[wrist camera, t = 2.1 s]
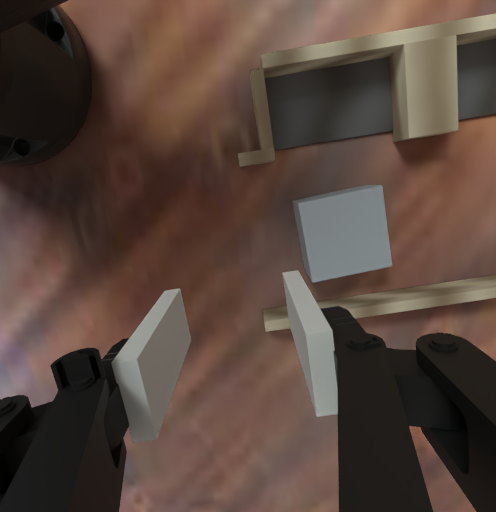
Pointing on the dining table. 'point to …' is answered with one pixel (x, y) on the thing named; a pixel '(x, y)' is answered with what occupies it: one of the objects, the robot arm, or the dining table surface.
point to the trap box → (378, 117)
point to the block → (343, 232)
